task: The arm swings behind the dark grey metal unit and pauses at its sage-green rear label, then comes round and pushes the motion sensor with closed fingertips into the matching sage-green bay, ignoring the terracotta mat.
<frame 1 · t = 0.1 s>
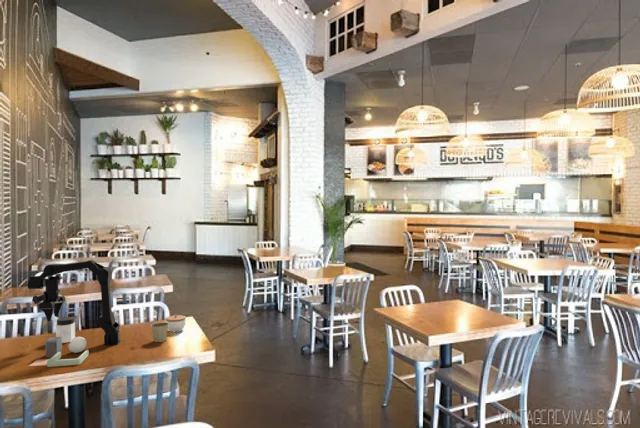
hand: (52, 318, 227), 15 cm above the table, fingers open, 9 cm apart
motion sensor: (77, 352, 219), on the table
lidded jar: (176, 331, 256), on the table
green bay: (68, 360, 207), on the table
wall unit: (54, 355, 215), on the table
terracotta mat: (42, 363, 204), on the table
flower pot: (160, 341, 237), on the table
jar: (65, 341, 238), on the table
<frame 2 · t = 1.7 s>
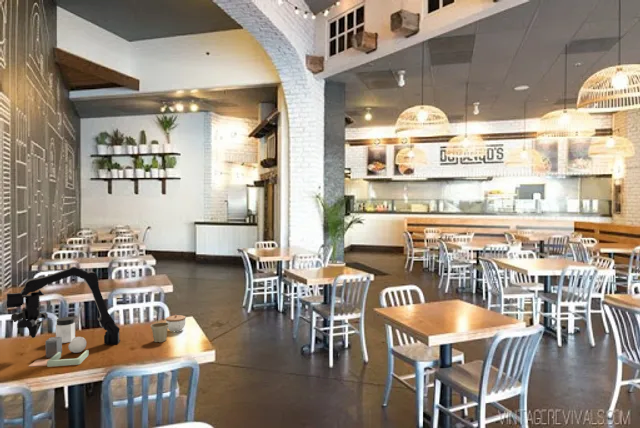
hand: (33, 337, 213), 9 cm above the table, fingers closed
nothing on the table moved.
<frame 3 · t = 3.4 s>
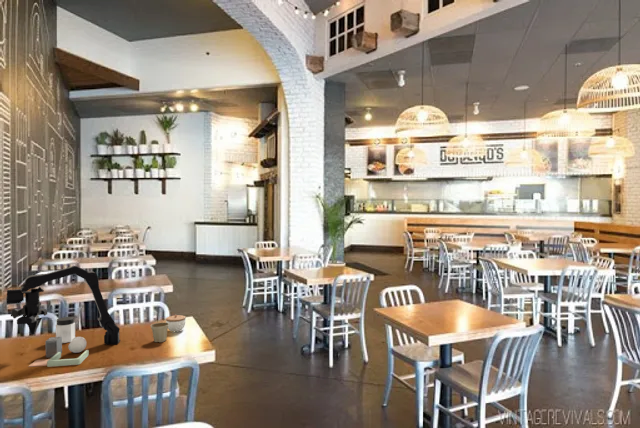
hand: (33, 334, 213), 11 cm above the table, fingers closed
nothing on the table moved.
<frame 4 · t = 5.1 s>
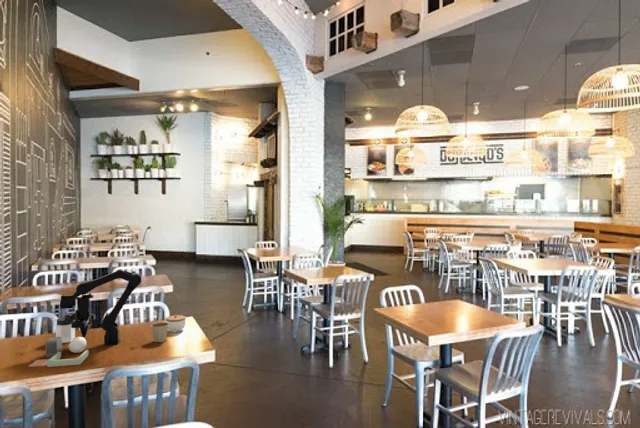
hand: (84, 337, 228), 5 cm above the table, fingers closed
nothing on the table moved.
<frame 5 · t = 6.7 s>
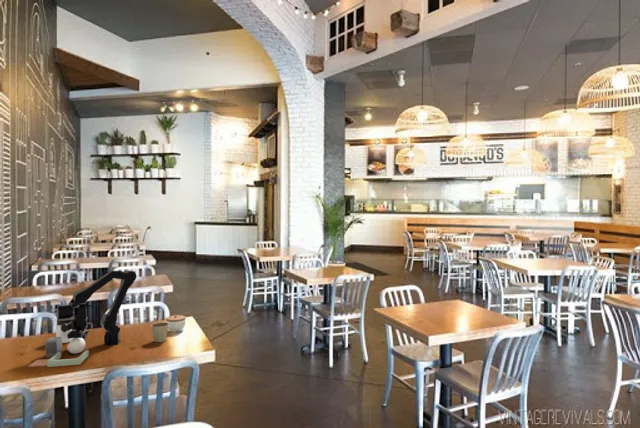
hand: (81, 347, 224), 1 cm above the table, fingers closed
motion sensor: (76, 353, 218), on the table, touching gripper
everything else where it was.
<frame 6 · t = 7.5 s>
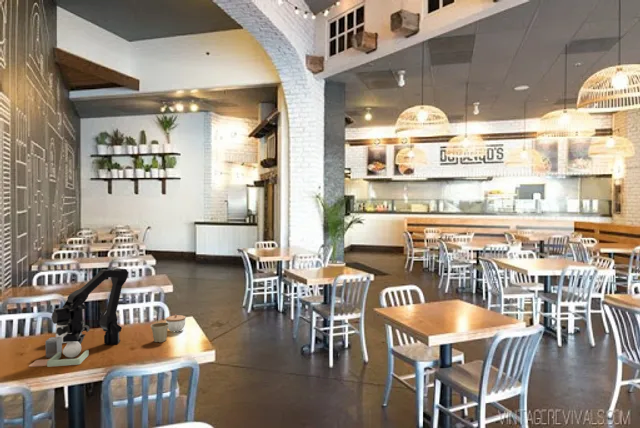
hand: (76, 350, 218), 1 cm above the table, fingers closed
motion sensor: (72, 357, 212), on the table, touching gripper
everything else where it was.
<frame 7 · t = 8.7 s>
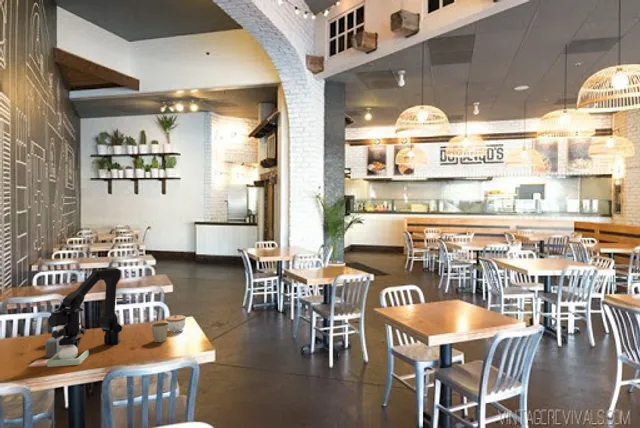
hand: (73, 354, 213), 1 cm above the table, fingers closed
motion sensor: (68, 361, 207), on the table, touching gripper
everything else where it was.
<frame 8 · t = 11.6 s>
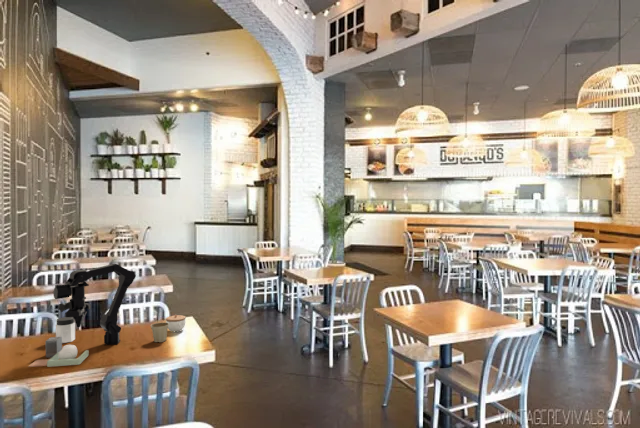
hand: (78, 327, 221), 12 cm above the table, fingers closed
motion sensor: (68, 361, 207), on the table
everything else where it was.
at the end: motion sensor inside the target area on the green bay (1.4 cm from its centre), point 0.0 cm above the green bay's base; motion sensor tilted 0° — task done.
